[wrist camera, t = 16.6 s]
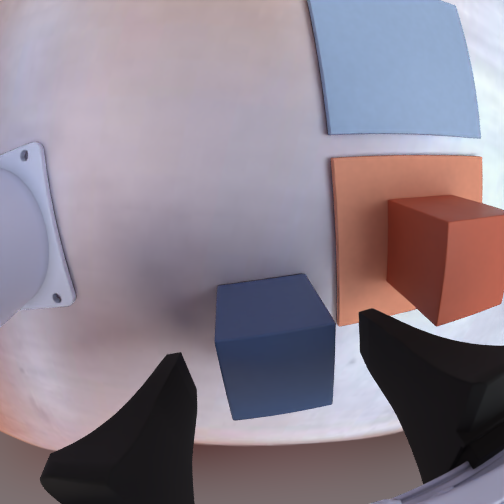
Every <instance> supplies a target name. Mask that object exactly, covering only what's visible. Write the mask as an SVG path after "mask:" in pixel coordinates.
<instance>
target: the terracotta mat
mask: <svg viewBox="0 0 504 504" xmlns="http://www.w3.org/2000/svg"><path fill="white" fill-rule="evenodd" d="M331 169H332V182H333V196H334V213H335V233H336V265H337V324H338V326H345V325H350V324H354V323H359V312H360V311H364V310H367V309H371V308H373V309H376V310H378V311H380V312H382V313H384V314H386V315H389V316H390V315H395V314H399V313H403V312H407V311H411V310H415V309H417V308H416V307H415V306H413V305H412V304H411V303H410V302H409V301H408V300H407V299H406V298H405V297H404V296H402V295H401V294H400V293H399V292H398V291H397V290H396V289H395V288H393V287H392V286H391V285H390V284H389V283H388V282H387V281H386V279H387V255H388V200H389V199H401V198H413V197H426V196H439V195H455V196H458V197H462V198H466V199H469V200H473V201H476V202H479V203H482V157H479V156H455V155H386V156H358V157H339V158H331Z"/></svg>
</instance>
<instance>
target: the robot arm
mask: <svg viewBox="0 0 504 504" xmlns="http://www.w3.org/2000/svg"><path fill="white" fill-rule="evenodd" d="M26 151H27V152H28V158H27V160H26V159H25V153H26ZM56 294H58V295H60V297H61V299H59V298H57V296H56ZM75 299H76V294H75V291H74V288H73V284H72V281H71V278H70V274H69V271H68V268H67V264H66V260H65V257H64V253H63V249H62V245H61V241H60V237H59V233H58V229H57V224H56V220H55V215H54V210H53V205H52V200H51V195H50V189H49V183H48V177H47V170H46V163H45V155H44V148H43V146H42V144H41V143H39V142H31V143H28V144H26V145H23V146H21V147H18V148H16V149H14V150H11V151H9V152H7V153H4V154H2V155H0V328H1V327H2V326H3V325H4V324H5V323H6V322H7V321H8V320H9V319H10V318H11V317H12V316H13V315H14V314H15V313H16V312H17V311H18V310H29V309H42V308H54V307H66V306H71V305H72V304H73V302H74V301H75ZM359 334H360V353H361V355H362V357H363V359H364V362H365V364H366V366H367V368H368V370H369V372H370V373H371V375H372V377H373V378H374V380H375V381H376V383H377V384H378V386H379V388H380V389H381V391H382V392H383V394H384V395H385V397H386V398H387V400H388V401H389V403H390V405H391V406H392V408H393V410H394V411H395V413H396V415H397V417H398V419H399V421H400V424H401V426H402V428H403V430H404V432H405V435H406V437H407V439H408V442H409V444H410V447H411V449H412V452H413V455H414V457H415V460H416V463H417V465H418V468H419V472H420V475H421V478H422V481H423V485H421V486H419V487H417V488H415V489H413V490H410V491H408V492H406V493H403V494H401V495H399V496H396V497H394V498H391V499H384V500H380V501H376V502H373V503H369V504H504V346H492V345H479V344H471V343H465V342H459V341H455V340H450V339H447V338H443V337H440V336H436V335H433V334H430V333H428V332H425V331H422V330H420V329H417V328H415V327H412V326H410V325H408V324H405V323H403V322H401V321H399V320H397V319H395V318H393V317H391V316H389V315H386V314H384V313H382V312H380V311H378V310H376V309H373V308H371V309H367V310H364V311H360V312H359ZM196 417H197V389H196V386H195V384H194V382H193V380H192V377H191V375H190V373H189V370H188V368H187V365H186V363H185V361H184V358H183V356H182V353H181V352H180V353H174V354H168V355H166V356H165V358H164V359H163V360H162V361H161V363H160V364H159V365H158V366H157V368H156V369H155V370H154V372H153V373H152V374H151V375H150V377H149V378H148V379H147V381H146V382H145V383H144V384H143V386H142V387H141V388H140V389H139V390H138V391H137V392H136V393H135V395H134V396H133V397H132V398H131V399H130V400H129V401H128V402H127V403H126V404H125V405H124V406H123V407H122V408H121V409H120V410H119V411H118V412H117V413H116V414H115V415H114V416H112V417H111V418H110V419H109V420H107V421H106V422H105V423H104V424H102V425H101V426H100V427H98V428H97V429H96V430H94V431H93V432H91V433H90V434H88V435H87V436H85V437H83V438H82V439H80V440H78V441H76V442H75V443H73V444H71V445H69V446H67V447H64V448H62V449H60V450H58V451H56V452H54V453H51V454H50V456H49V458H48V460H47V463H46V465H45V467H44V470H43V472H42V475H41V477H40V481H41V484H42V485H43V487H44V489H45V490H46V491H47V492H48V493H49V494H50V495H51V496H53V497H54V498H55V499H56V500H57V501H59V502H60V503H61V504H194V494H193V478H192V477H193V476H192V454H193V444H194V435H195V426H196Z"/></svg>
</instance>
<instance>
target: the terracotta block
mask: <svg viewBox="0 0 504 504" xmlns="http://www.w3.org/2000/svg"><path fill="white" fill-rule="evenodd" d="M386 281H387V282H388V283H389V284H390V285H391V286H392V287H393V288H395V289H396V290H397V291H398V292H399V293H400V294H401V295H402V296H404V297H405V298H406V299H407V300H408V301H409V302H410V303H411V304H412V305H413V306H415V307H416V308H417V309H418V310H419V311H420V312H421V313H422V314H423V315H424V316H425V317H427V318H428V319H429V320H430V321H431V322H432V323H433V324H434V325H435V326H440V325H443V324H446V323H449V322H452V321H455V320H458V319H461V318H464V317H467V316H470V315H473V314H475V313H478V312H481V311H484V310H486V309H489V308H492V307H494V306H497V305H499V304H501V302H502V298H503V293H504V210H502V209H499V208H496V207H493V206H489V205H486V204H483V203H479V202H476V201H473V200H469V199H466V198H462V197H458V196H455V195H439V196H426V197H413V198H401V199H389V200H388V255H387V279H386Z"/></svg>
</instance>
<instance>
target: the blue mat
mask: <svg viewBox="0 0 504 504" xmlns="http://www.w3.org/2000/svg"><path fill="white" fill-rule="evenodd" d="M307 2H308V7H309V12H310V17H311V22H312V27H313V32H314V38H315V43H316V49H317V55H318V61H319V68H320V74H321V81H322V88H323V95H324V103H325V111H326V119H327V128H328V135H340V134H420V135H441V136H456V137H468V138H481V133H480V121H479V112H478V104H477V96H476V90H475V83H474V77H473V72H472V67H471V62H470V57H469V53H468V48H467V44H466V40H465V36H464V32H463V29H462V25H461V21H460V18H459V15H458V11H457V8H456V6H455V5H452V4H449V3H446V2H444V1H441V0H307Z"/></svg>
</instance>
